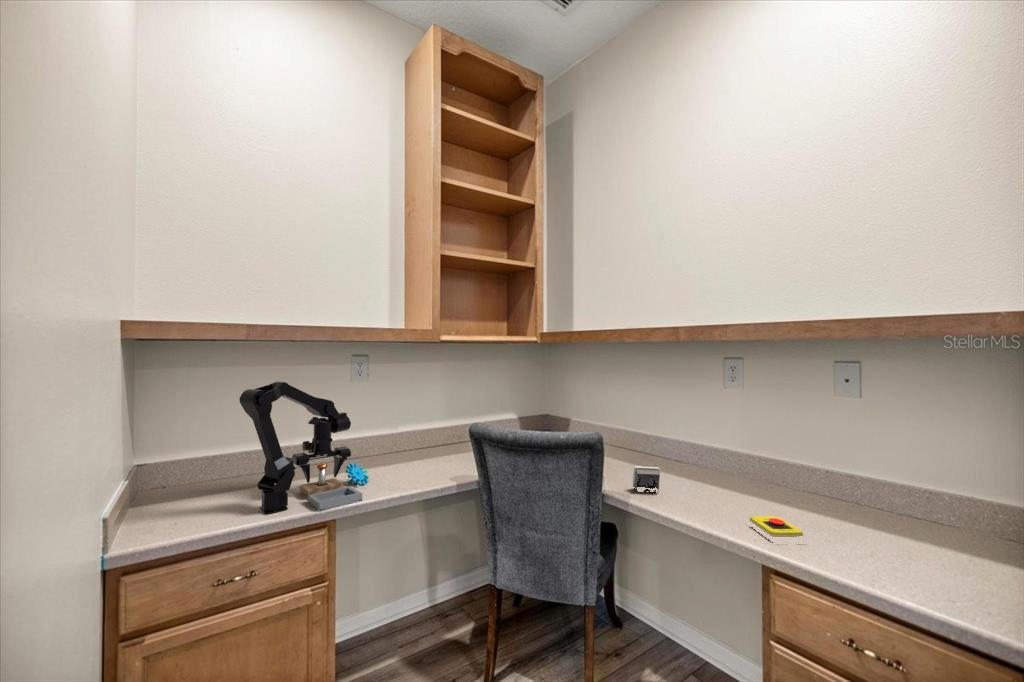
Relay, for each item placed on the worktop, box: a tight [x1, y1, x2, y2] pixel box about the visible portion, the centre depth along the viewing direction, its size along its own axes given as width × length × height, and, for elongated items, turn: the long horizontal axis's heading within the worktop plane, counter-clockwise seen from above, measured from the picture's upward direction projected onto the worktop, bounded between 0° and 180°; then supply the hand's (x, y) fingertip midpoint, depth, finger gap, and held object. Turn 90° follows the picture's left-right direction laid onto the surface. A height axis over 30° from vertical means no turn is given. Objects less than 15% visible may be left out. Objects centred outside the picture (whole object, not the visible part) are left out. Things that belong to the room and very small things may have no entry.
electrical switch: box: [632, 465, 661, 491], centre depth 159 cm, size 9×5×9 cm, turn 83°
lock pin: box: [316, 462, 328, 487], centre depth 155 cm, size 3×3×10 cm
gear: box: [345, 462, 370, 486], centre depth 166 cm, size 11×6×10 cm
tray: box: [307, 485, 363, 512], centre depth 146 cm, size 14×10×2 cm
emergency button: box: [749, 515, 804, 537], centre depth 125 cm, size 9×4×15 cm
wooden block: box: [299, 477, 344, 500], centre depth 155 cm, size 12×8×3 cm, turn 134°
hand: (321, 479), depth 155 cm, fingers open, 9 cm apart
